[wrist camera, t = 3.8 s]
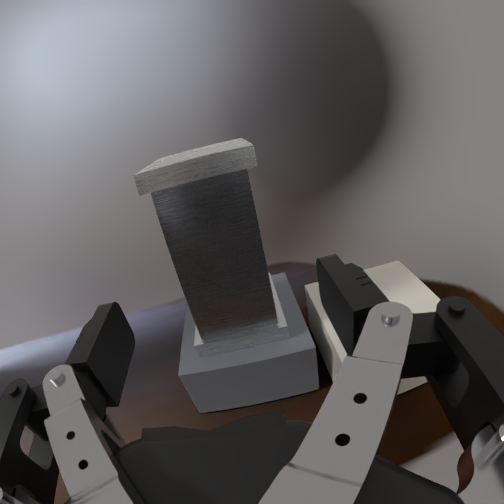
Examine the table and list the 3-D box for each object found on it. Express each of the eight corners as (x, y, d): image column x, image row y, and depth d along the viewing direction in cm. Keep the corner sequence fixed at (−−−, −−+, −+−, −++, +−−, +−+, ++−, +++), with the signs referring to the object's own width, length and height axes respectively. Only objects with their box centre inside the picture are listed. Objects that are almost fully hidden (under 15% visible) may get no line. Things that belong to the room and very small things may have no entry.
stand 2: (345, 413, 16) (347, 373, 14) (309, 326, 24) (304, 285, 22) (452, 369, 16) (466, 325, 14) (395, 300, 24) (398, 260, 22)
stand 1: (199, 413, 18) (178, 375, 16) (201, 331, 26) (187, 294, 24) (319, 389, 18) (315, 347, 16) (291, 311, 26) (284, 272, 24)
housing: (199, 357, 17) (133, 175, 13) (202, 299, 23) (159, 158, 18) (289, 338, 17) (253, 144, 13) (271, 283, 23) (242, 137, 19)
